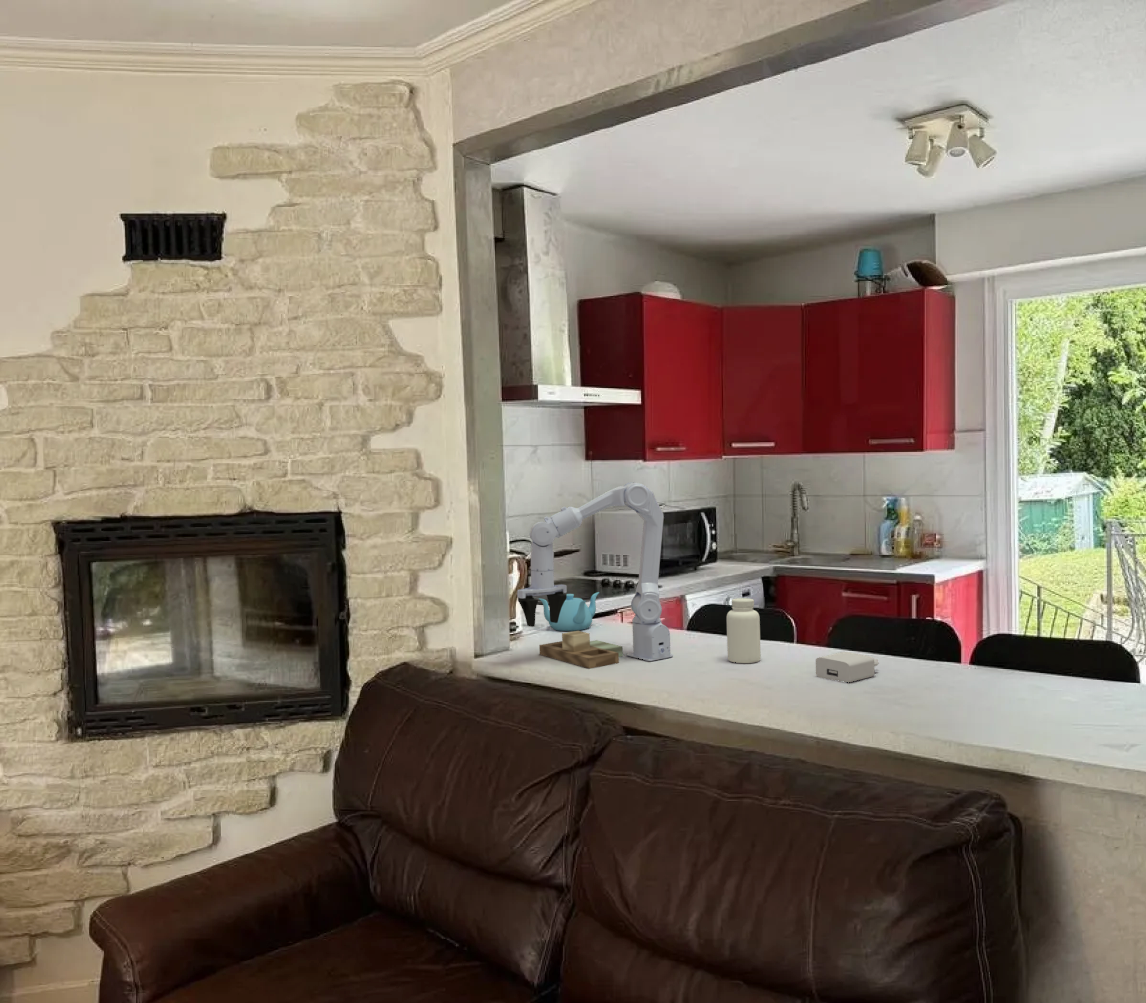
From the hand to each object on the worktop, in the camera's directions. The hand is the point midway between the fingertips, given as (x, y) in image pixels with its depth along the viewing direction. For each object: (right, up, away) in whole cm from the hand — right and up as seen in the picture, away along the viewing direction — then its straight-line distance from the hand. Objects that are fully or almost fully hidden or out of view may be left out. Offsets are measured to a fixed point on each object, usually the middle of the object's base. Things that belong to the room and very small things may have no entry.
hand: (542, 624), depth 237 cm
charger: (+71, -9, -23) cm, 75 cm away
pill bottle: (+49, -8, -5) cm, 50 cm away
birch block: (+8, -7, +3) cm, 11 cm away
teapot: (+7, -7, +45) cm, 46 cm away
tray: (+11, -9, +5) cm, 15 cm away
